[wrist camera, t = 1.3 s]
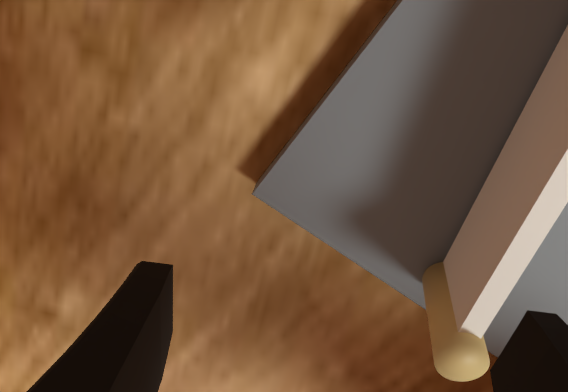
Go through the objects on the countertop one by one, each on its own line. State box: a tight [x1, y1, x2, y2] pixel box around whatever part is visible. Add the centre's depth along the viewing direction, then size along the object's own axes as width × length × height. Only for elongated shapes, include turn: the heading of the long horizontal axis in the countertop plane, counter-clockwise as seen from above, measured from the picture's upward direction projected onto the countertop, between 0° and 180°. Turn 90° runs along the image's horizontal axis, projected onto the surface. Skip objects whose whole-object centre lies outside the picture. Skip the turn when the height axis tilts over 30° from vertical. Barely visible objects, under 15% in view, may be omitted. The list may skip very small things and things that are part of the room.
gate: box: [422, 25, 568, 382], centre depth 16 cm, size 13×2×4 cm, turn 166°
